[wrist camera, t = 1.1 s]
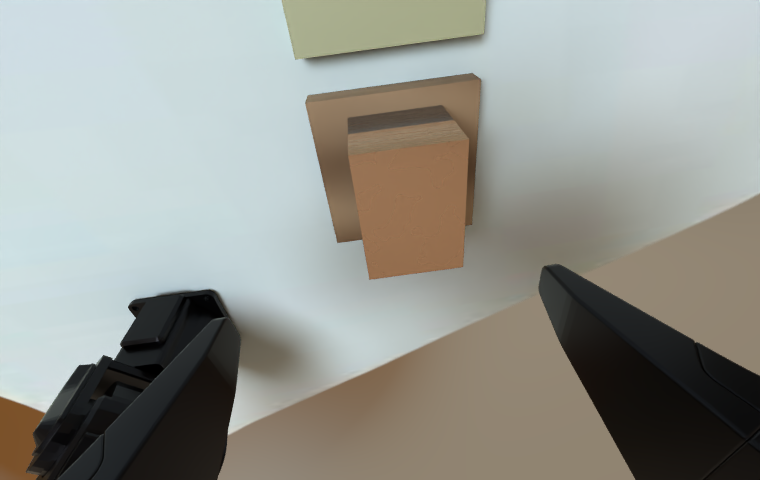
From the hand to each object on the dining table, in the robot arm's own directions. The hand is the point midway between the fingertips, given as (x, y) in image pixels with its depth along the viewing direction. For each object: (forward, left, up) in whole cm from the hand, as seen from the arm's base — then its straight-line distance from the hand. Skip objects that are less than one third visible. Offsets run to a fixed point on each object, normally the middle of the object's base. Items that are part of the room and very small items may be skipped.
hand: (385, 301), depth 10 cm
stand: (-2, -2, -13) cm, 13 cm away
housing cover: (-2, -2, -9) cm, 9 cm away
